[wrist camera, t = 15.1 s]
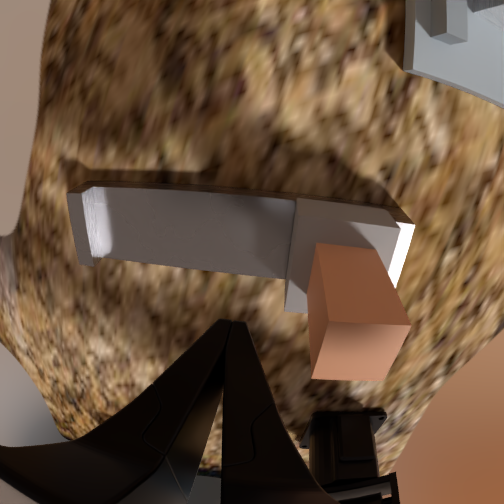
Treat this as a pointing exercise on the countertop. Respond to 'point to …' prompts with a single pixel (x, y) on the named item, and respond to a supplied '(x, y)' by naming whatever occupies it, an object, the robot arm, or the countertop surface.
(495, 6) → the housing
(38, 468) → the robot arm
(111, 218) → the rail
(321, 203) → the lever
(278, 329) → the countertop surface
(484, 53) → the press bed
